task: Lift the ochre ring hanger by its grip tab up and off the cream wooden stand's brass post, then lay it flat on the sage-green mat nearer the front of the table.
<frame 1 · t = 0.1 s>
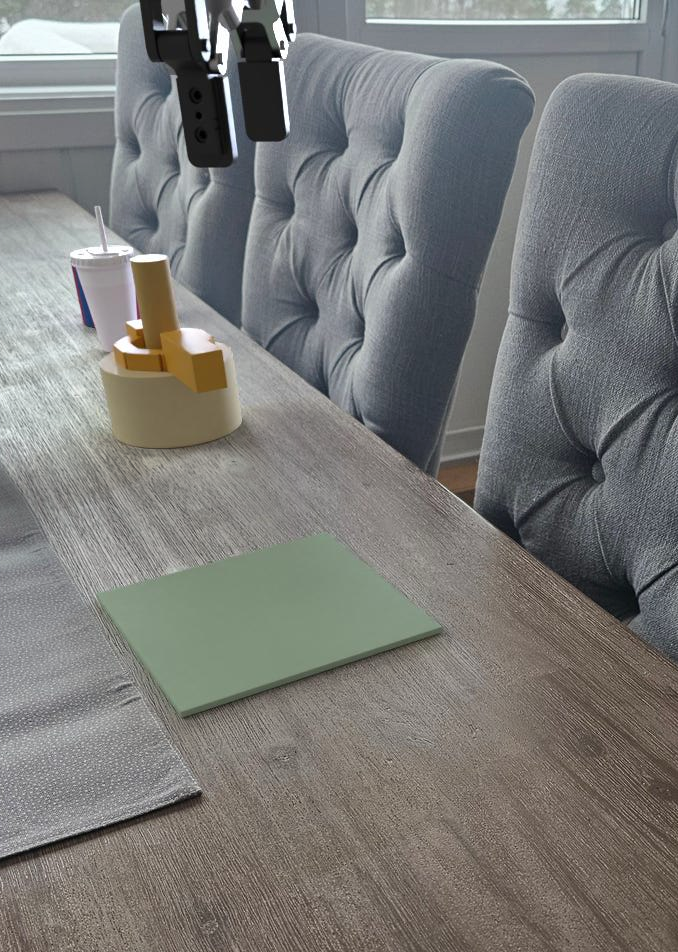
hand: (243, 153, 56), 26 cm above the table, tool pointing down, fingers open, 8 cm apart
ring hanger: (166, 356, 95), point 6 cm above the table, touching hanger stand
mat: (263, 615, 69), on the table
mug: (113, 318, 129), on the table
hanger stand: (178, 425, 98), on the table
smoothie: (121, 349, 119), on the table
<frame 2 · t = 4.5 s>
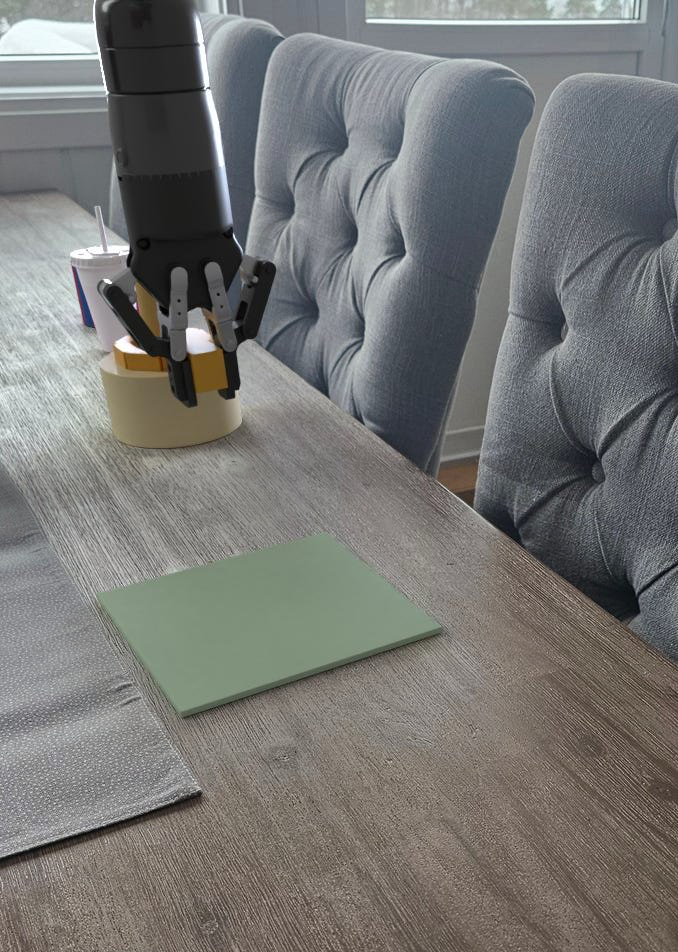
hand: (207, 399, 88), 5 cm above the table, tool pointing down, fingers closed on ring hanger, 2 cm apart
ring hanger: (166, 356, 95), point 6 cm above the table, touching gripper, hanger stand
everything else where it was.
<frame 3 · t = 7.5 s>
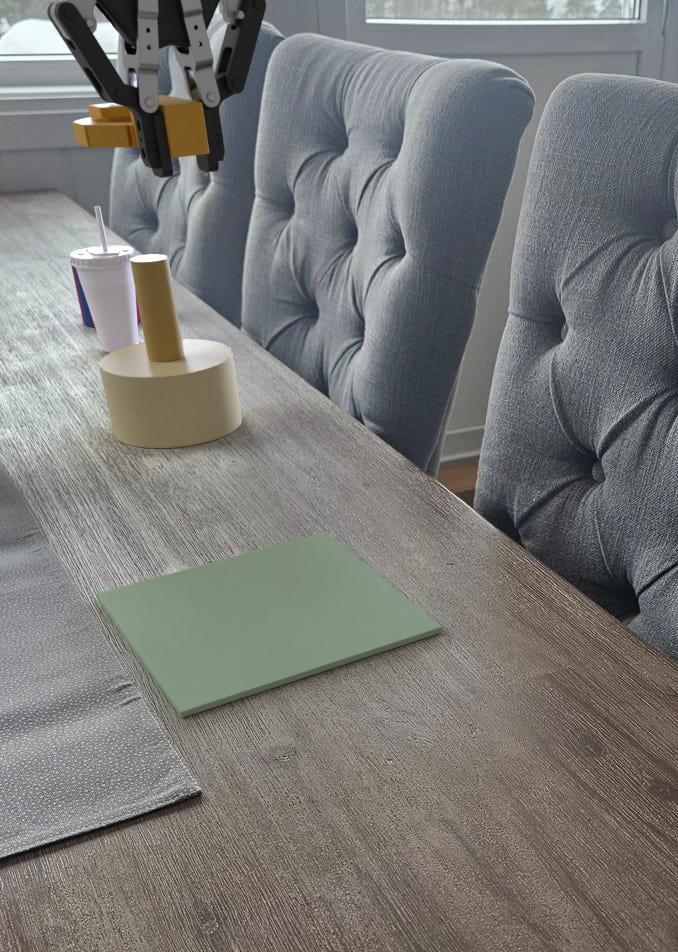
hand: (185, 171, 74), 22 cm above the table, tool pointing down, fingers closed on ring hanger, 2 cm apart
ring hanger: (136, 139, 80), point 23 cm above the table, touching gripper
everything else where it was.
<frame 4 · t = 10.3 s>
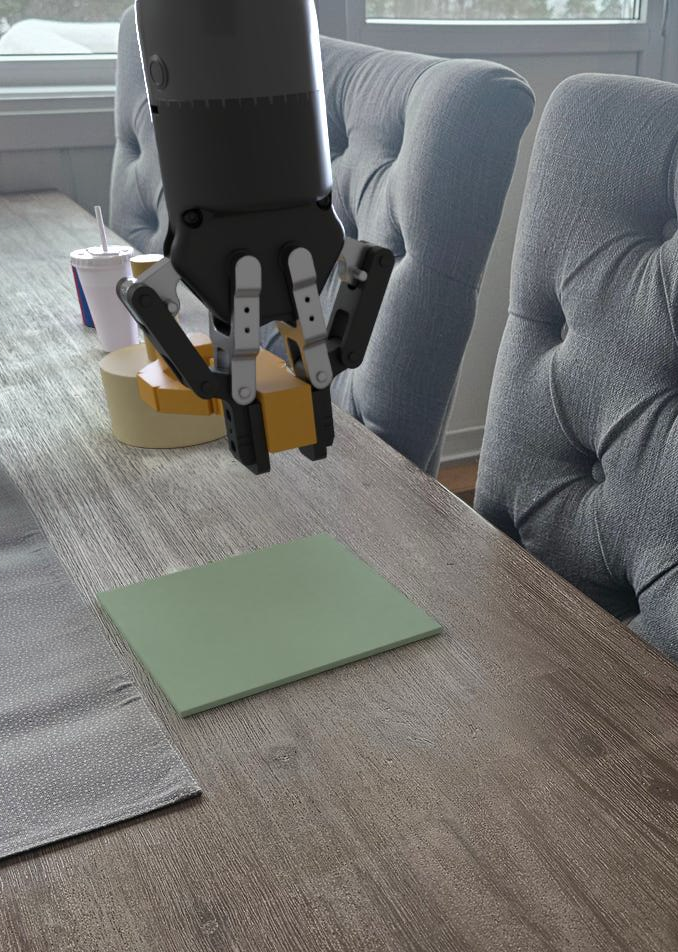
hand: (284, 461, 57), 12 cm above the table, tool pointing down, fingers closed on ring hanger, 2 cm apart
ring hanger: (215, 391, 64), point 13 cm above the table, touching gripper
everything else where it was.
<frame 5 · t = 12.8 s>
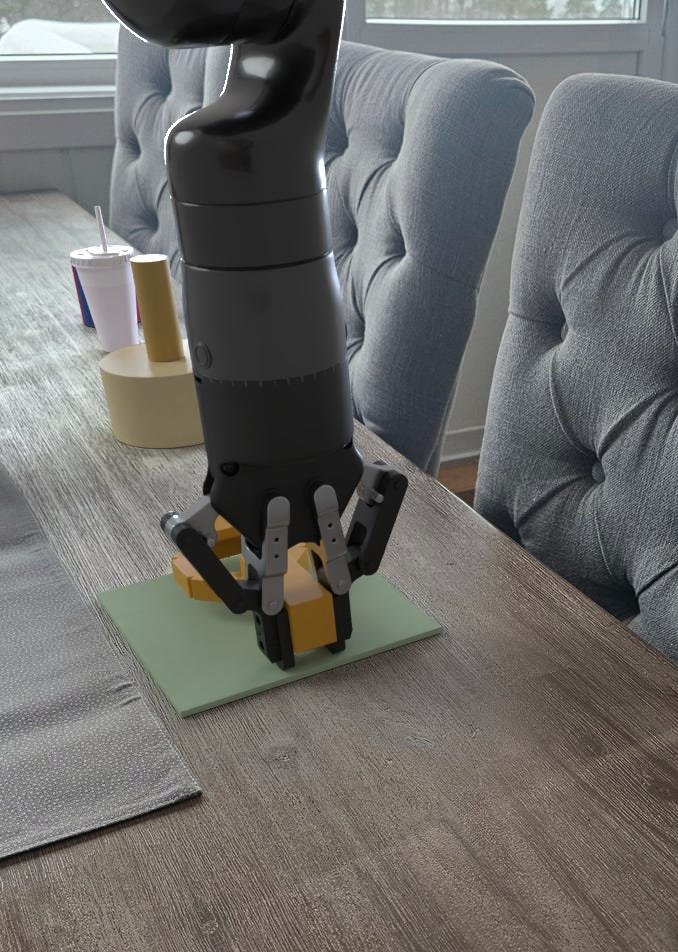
hand: (307, 653, 64), 1 cm above the table, tool pointing down, fingers closed on ring hanger, 2 cm apart
ring hanger: (242, 572, 70), point 2 cm above the table, touching gripper
everything else where it was.
when the fingers open (1 cm above the table, at t = 16.1 s): ring hanger drops 2 cm, resting on mat.
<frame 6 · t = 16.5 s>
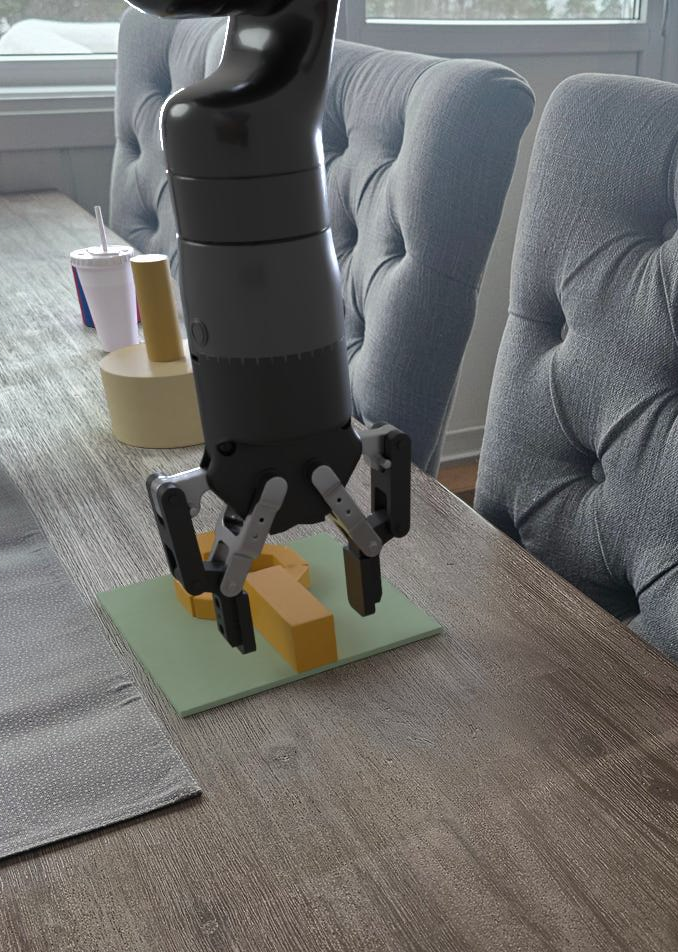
hand: (303, 627, 63), 2 cm above the table, tool pointing down, fingers open, 6 cm apart
ring hanger: (244, 590, 71), resting on mat
everything else where it was.
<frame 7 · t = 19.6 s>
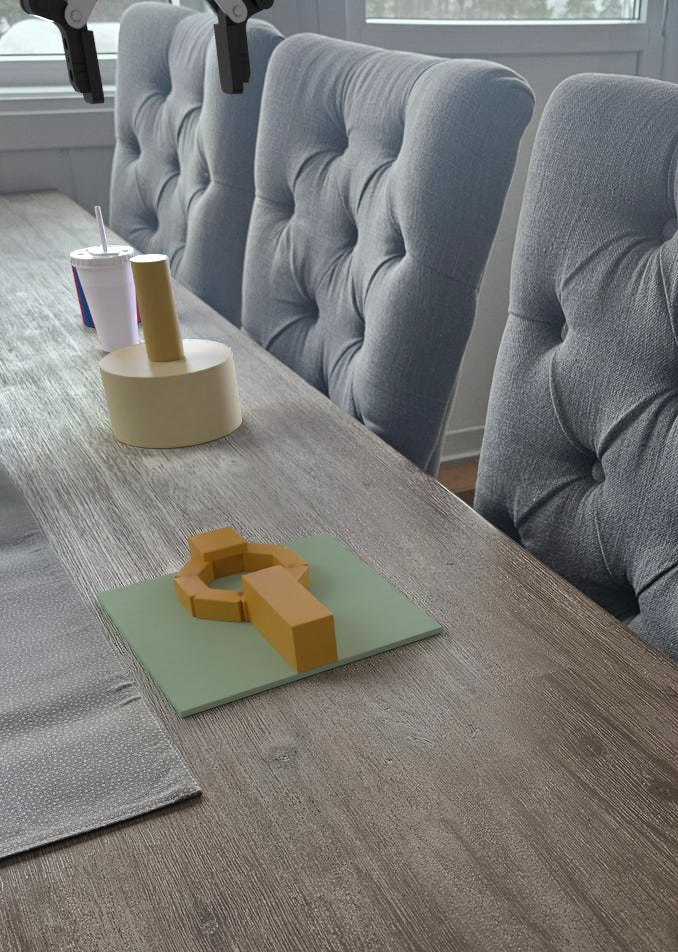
hand: (165, 98, 68), 27 cm above the table, tool pointing down, fingers open, 8 cm apart
nothing on the table moved.
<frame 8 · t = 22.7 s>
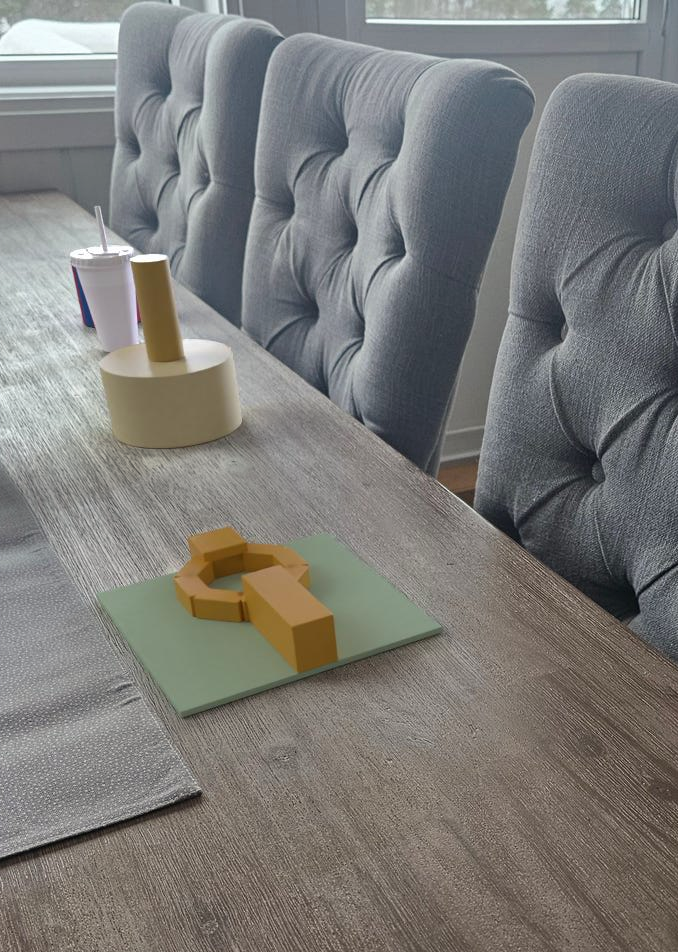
nothing on the table moved.
at the end: ring hanger inside the target area on the mat (1.0 cm from its centre), point 0.4 cm above the mat's base; ring hanger tilted 0°; the gripper is holding nothing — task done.
